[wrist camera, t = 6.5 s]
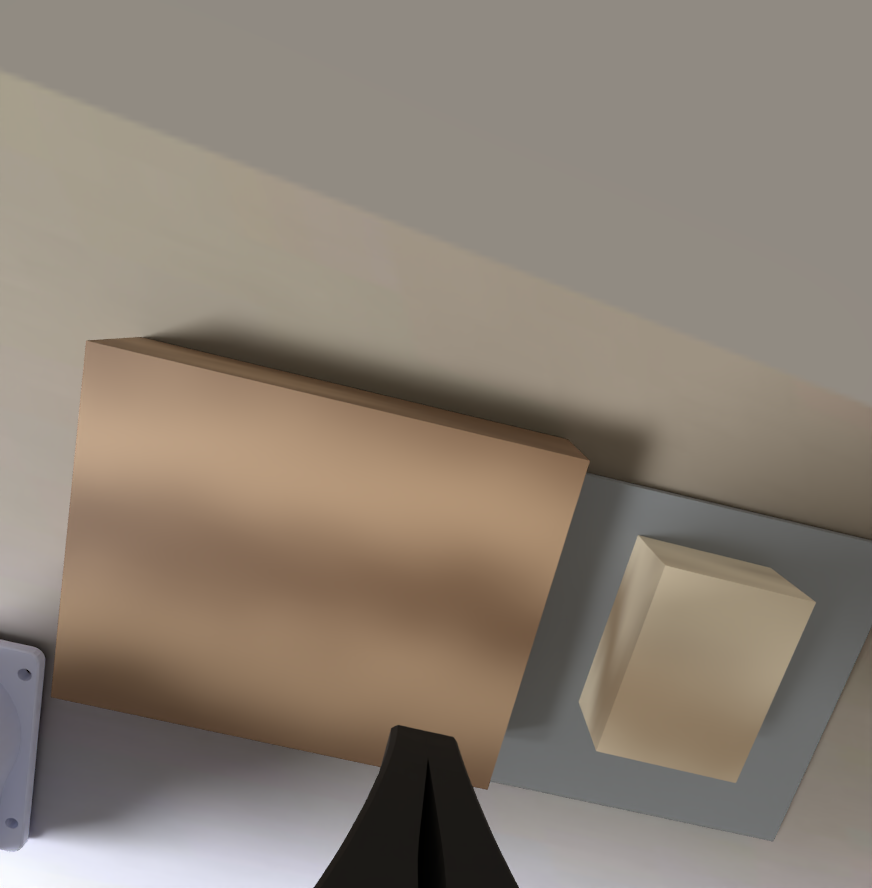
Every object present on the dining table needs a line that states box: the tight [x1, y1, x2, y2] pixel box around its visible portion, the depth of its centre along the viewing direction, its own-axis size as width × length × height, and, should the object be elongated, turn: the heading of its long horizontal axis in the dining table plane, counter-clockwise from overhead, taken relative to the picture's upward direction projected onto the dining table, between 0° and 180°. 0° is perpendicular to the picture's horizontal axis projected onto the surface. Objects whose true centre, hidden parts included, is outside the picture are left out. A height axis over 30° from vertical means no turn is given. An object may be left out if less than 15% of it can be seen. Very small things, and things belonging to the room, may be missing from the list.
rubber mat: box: [490, 473, 872, 841], centre depth 21 cm, size 13×12×1 cm
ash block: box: [579, 535, 816, 783], centre depth 20 cm, size 7×5×2 cm
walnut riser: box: [51, 337, 590, 790], centre depth 19 cm, size 12×15×3 cm
